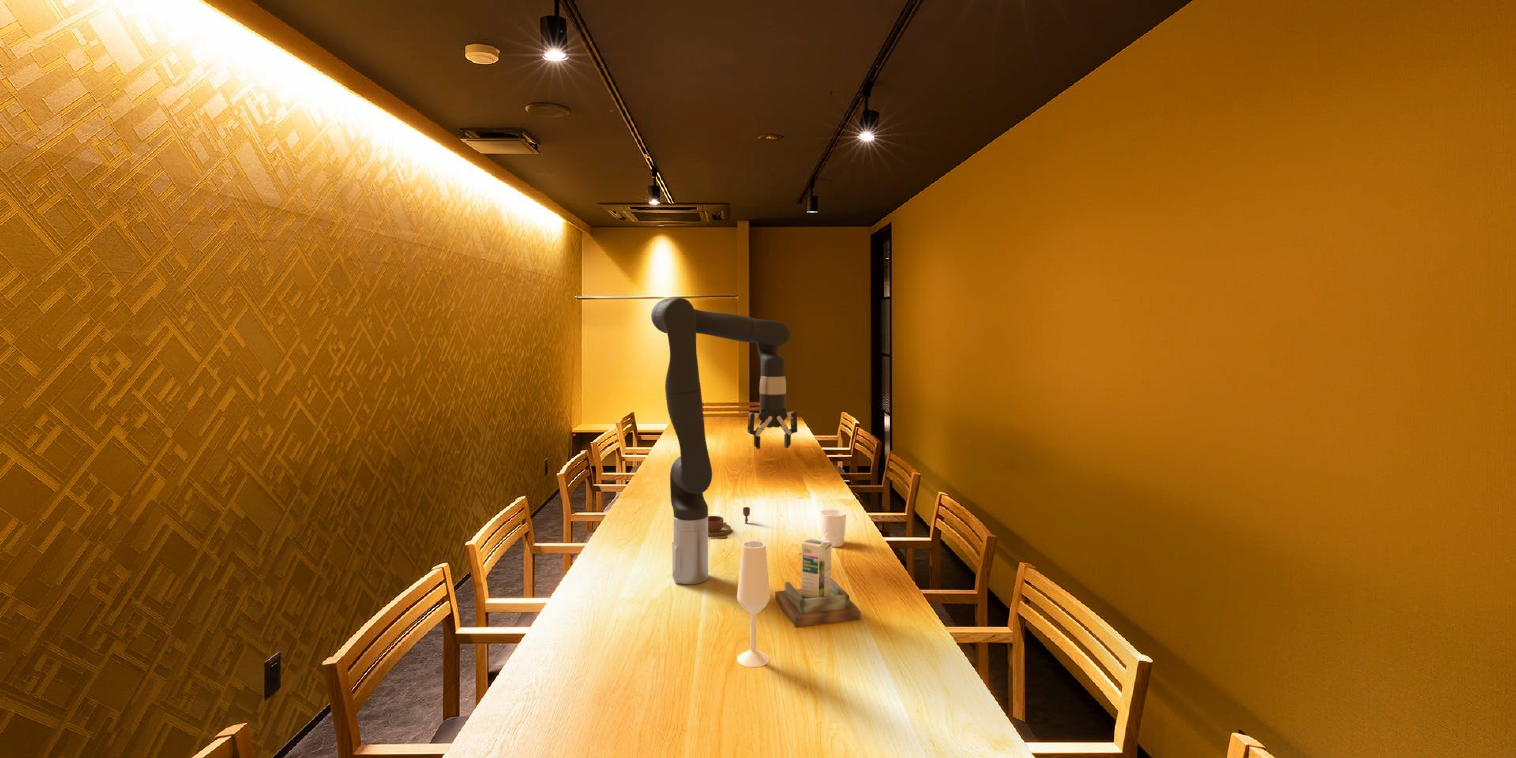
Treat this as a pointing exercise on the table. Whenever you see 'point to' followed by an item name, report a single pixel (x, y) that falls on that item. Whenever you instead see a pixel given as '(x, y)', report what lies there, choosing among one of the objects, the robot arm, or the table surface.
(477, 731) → the table surface
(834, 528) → the white cup
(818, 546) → the syrup box
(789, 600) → the dock
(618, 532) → the table surface
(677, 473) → the robot arm
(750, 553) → the champagne flute
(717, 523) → the place setting
